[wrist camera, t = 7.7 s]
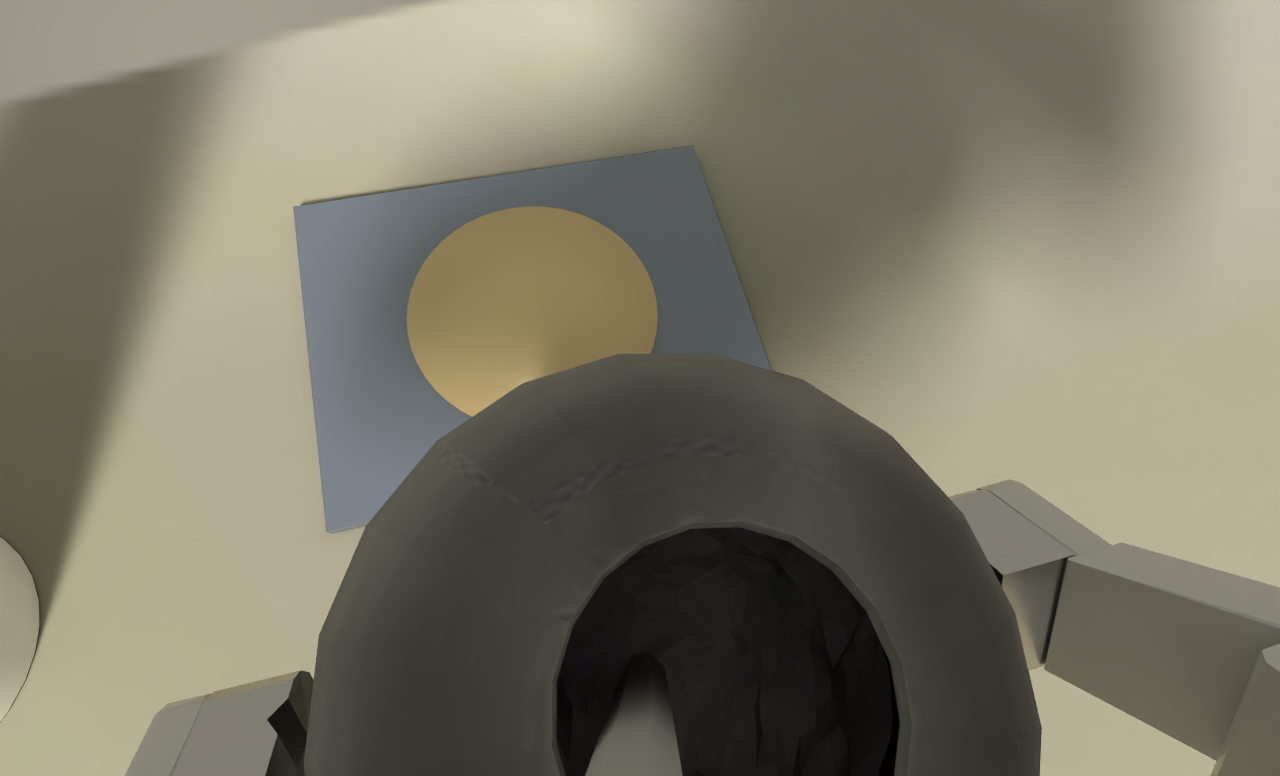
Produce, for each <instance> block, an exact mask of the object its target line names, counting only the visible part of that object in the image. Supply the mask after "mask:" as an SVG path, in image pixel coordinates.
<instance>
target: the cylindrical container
mask: <svg viewBox="0 0 1280 776" xmlns="http://www.w3.org/2000/svg"><path fill="white" fill-rule="evenodd" d="M38 631H39V600H38V596H37V592H36V588H35V585H34V581H33V577H32V575H31V573H30V572H29V570H28V568H27V566H26V565H25V563H24V561H23V559H22V558H21V556H20V555H19V554H18V553H17V552H16V551H15V550H14V549H13V548H12V547H11V546H10V545H9V544H8V543H7V542H6V541H5V540H4V539H3V538H1V537H0V721H1V720H2V719H3V717H4V716H5V715H6V714H7V712H8V711H9V709H10V707H11V705H12V704H13V702H14V700H15V698H16V696H17V694H18V693H19V691H20V689H21V687H22V685H23V684H24V682H25V679H26V677H27V674H28V671H29V668H30V665H31V662H32V659H33V657H34V654H35V650H36V644H37V638H38Z"/></svg>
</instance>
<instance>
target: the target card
mask: <svg viewBox="0 0 1280 776" xmlns="http://www.w3.org/2000/svg"><path fill="white" fill-rule="evenodd" d="M293 209H294V219H295V229H296V239H297V249H298V258H299V268H300V278H301V288H302V298H303V307H304V317H305V327H306V337H307V347H308V357H309V366H310V376H311V386H312V396H313V406H314V415H315V425H316V435H317V445H318V455H319V465H320V474H321V484H322V494H323V504H324V514H325V523H326V532H329V533H331V534H332V533H336V532H340V531H345V530H349V529H353V528H357V527H362V526H366V525H367V524H368V523H369V522H370V520H371V519H372V518H373V517H374V515H375V514H376V513H377V512H378V511H379V509H380V508H381V507H382V506H383V505H384V503H385V502H386V501H387V500H388V499H389V497H390V496H391V495H392V494H393V493H394V491H395V490H396V489H397V488H398V487H399V485H400V484H401V483H402V482H403V480H404V479H405V478H406V477H407V476H408V474H409V473H410V472H411V471H412V470H413V468H414V467H415V466H416V465H417V464H418V462H419V461H420V460H421V459H422V458H423V456H424V455H425V454H426V453H427V452H428V450H429V449H430V448H431V447H432V445H433V444H434V443H435V442H436V441H437V440H438V439H440V438H441V437H443V436H444V435H446V434H447V433H449V432H450V431H452V430H453V429H455V428H456V427H458V426H459V425H461V424H462V423H464V422H465V421H467V420H468V419H470V418H471V417H473V416H474V415H476V414H477V413H479V412H480V411H482V410H483V409H485V408H486V407H488V406H489V405H491V404H492V403H494V402H495V401H497V400H498V399H500V398H501V397H503V396H504V395H506V394H507V393H509V392H510V391H512V390H513V389H515V388H516V387H517V386H519V385H521V384H523V383H525V382H528V381H531V380H534V379H538V378H541V377H544V376H547V375H551V374H554V373H557V372H561V371H564V370H567V369H570V368H574V367H577V366H580V365H583V364H587V363H590V362H593V361H596V360H600V359H603V358H606V357H609V356H613V355H616V354H703V353H712V354H716V355H719V356H723V357H726V358H730V359H733V360H736V361H740V362H743V363H747V364H750V365H754V366H757V367H761V368H764V369H767V370H771V367H770V365H769V362H768V359H767V356H766V353H765V350H764V348H763V345H762V342H761V339H760V336H759V333H758V330H757V328H756V325H755V322H754V319H753V316H752V313H751V310H750V308H749V305H748V302H747V299H746V296H745V293H744V290H743V288H742V285H741V282H740V279H739V276H738V273H737V271H736V268H735V265H734V262H733V259H732V256H731V253H730V251H729V248H728V245H727V242H726V239H725V236H724V233H723V231H722V228H721V225H720V222H719V219H718V216H717V213H716V211H715V208H714V205H713V202H712V199H711V196H710V194H709V191H708V188H707V185H706V182H705V179H704V176H703V174H702V171H701V168H700V165H699V162H698V159H697V156H696V154H695V151H694V148H693V145H692V146H686V147H679V148H673V149H666V150H660V151H653V152H647V153H640V154H634V155H627V156H621V157H614V158H608V159H601V160H595V161H588V162H582V163H575V164H569V165H562V166H556V167H549V168H542V169H536V170H529V171H523V172H516V173H510V174H503V175H497V176H490V177H484V178H477V179H471V180H464V181H458V182H451V183H445V184H438V185H432V186H425V187H419V188H412V189H406V190H399V191H393V192H386V193H380V194H373V195H367V196H360V197H354V198H347V199H341V200H334V201H328V202H321V203H315V204H308V205H302V206H295V207H293ZM771 371H772V370H771Z"/></svg>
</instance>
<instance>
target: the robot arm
mask: <svg viewBox="0 0 1280 776" xmlns="http://www.w3.org/2000/svg"><path fill="white" fill-rule="evenodd" d="M948 498H949V499H950V500H951V501H952V502H953V503H954V504H955V505H956V506H957V507H958V509H959V510H960V511H961V512H962V513H963V514H964V516H965V518H966V520H967V522H968V524H969V525H970V527H971V529H972V531H973V533H974V535H975V537H976V539H977V541H978V543H979V544H980V546H981V548H982V550H983V552H984V554H985V556H986V558H987V560H988V562H989V564H990V565H991V567H992V569H993V571H994V573H995V575H996V577H997V579H998V581H999V583H1000V584H1001V586H1002V588H1003V590H1004V592H1005V594H1006V596H1007V598H1008V600H1009V602H1010V603H1011V605H1012V607H1013V609H1014V611H1015V614H1016V619H1017V623H1018V627H1019V632H1020V636H1021V640H1022V645H1023V649H1024V654H1025V658H1026V662H1027V667H1028V670H1031V669H1035V668H1038V667H1042V666H1045V667H1044V669H1045V670H1046V671H1048V672H1050V673H1052V674H1054V675H1056V676H1058V677H1060V678H1062V679H1063V680H1065V681H1067V682H1069V683H1071V684H1073V685H1075V686H1077V687H1078V688H1080V689H1082V690H1084V691H1086V692H1088V693H1090V694H1092V695H1094V696H1095V697H1097V698H1099V699H1101V700H1103V701H1105V702H1107V703H1109V704H1111V705H1112V706H1114V707H1116V708H1118V709H1120V710H1122V711H1124V712H1126V713H1127V714H1129V715H1131V716H1133V717H1135V718H1137V719H1139V720H1141V721H1143V722H1144V723H1146V724H1148V725H1150V726H1152V727H1154V728H1156V729H1158V730H1159V731H1161V732H1163V733H1165V734H1167V735H1169V736H1171V737H1173V738H1175V739H1176V740H1178V741H1180V742H1182V743H1184V744H1186V745H1188V746H1190V747H1192V748H1193V749H1195V750H1197V751H1199V752H1201V753H1203V754H1205V755H1207V756H1208V757H1210V758H1212V759H1214V760H1216V764H1215V766H1214V769H1213V771H1212V774H1211V776H1280V588H1279V587H1276V586H1272V585H1269V584H1265V583H1262V582H1258V581H1255V580H1251V579H1248V578H1244V577H1241V576H1237V575H1234V574H1230V573H1227V572H1223V571H1220V570H1216V569H1212V568H1209V567H1205V566H1202V565H1198V564H1195V563H1191V562H1188V561H1184V560H1181V559H1177V558H1174V557H1170V556H1167V555H1163V554H1160V553H1156V552H1153V551H1149V550H1146V549H1142V548H1139V547H1135V546H1132V545H1128V544H1125V543H1119V544H1116V545H1111V544H1109V543H1108V542H1106V541H1105V540H1103V539H1102V538H1100V537H1099V536H1098V535H1096V534H1095V533H1093V532H1092V531H1090V530H1089V529H1087V528H1086V527H1085V526H1083V525H1082V524H1080V523H1079V522H1077V521H1076V520H1074V519H1073V518H1072V517H1070V516H1069V515H1067V514H1066V513H1064V512H1063V511H1061V510H1060V509H1059V508H1057V507H1056V506H1054V505H1053V504H1051V503H1050V502H1048V501H1047V500H1045V499H1044V498H1043V497H1041V496H1040V495H1038V494H1037V493H1035V492H1034V491H1032V490H1031V489H1030V488H1028V487H1027V486H1025V485H1024V484H1022V483H1020V482H1017V481H1013V480H1006V481H1002V482H999V483H995V484H992V485H988V486H985V487H981V488H978V489H977V490H973V491H969V492H965V493H962V494H958V495H954V496H951V497H948ZM313 682H314V680H313V678H312V676H311V675H310V673H309V672H305V671H297V672H293V673H289V674H285V675H281V676H276V677H272V678H268V679H264V680H260V681H256V682H252V683H248V684H244V685H239V686H235V687H231V688H227V689H223V690H219V691H215V692H213V693H212V694H207V695H203V696H198V697H194V698H190V699H186V700H182V701H177V702H173V703H169V704H167V705H166V706H165V707H164V708H162V709H161V710H160V711H159V712H158V713H157V714H156V715H155V716H154V718H153V720H152V722H151V724H150V726H149V728H148V730H147V732H146V734H145V736H144V738H143V740H142V742H141V744H140V746H139V748H138V750H137V752H136V754H135V756H134V758H133V760H132V762H131V764H130V766H129V768H128V770H127V772H126V774H125V776H305V771H304V758H305V749H306V741H307V733H308V724H309V716H310V708H311V699H312V691H313Z"/></svg>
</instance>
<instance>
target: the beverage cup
mask: <svg viewBox="0 0 1280 776" xmlns="http://www.w3.org/2000/svg"><path fill="white" fill-rule="evenodd" d="M1041 730H1042V728H1041V723H1040V719H1039V715H1038V710H1037V706H1036V701H1035V697H1034V693H1033V688H1032V684H1031V680H1030V675H1029V671H1028V667H1027V662H1026V658H1025V654H1024V649H1023V645H1022V640H1021V636H1020V632H1019V627H1018V623H1017V619H1016V614H1015V611H1014V609H1013V607H1012V605H1011V603H1010V602H1009V600H1008V598H1007V596H1006V594H1005V592H1004V590H1003V588H1002V586H1001V584H1000V583H999V581H998V579H997V577H996V575H995V573H994V571H993V569H992V567H991V565H990V564H989V562H988V560H987V558H986V556H985V554H984V552H983V550H982V548H981V546H980V544H979V543H978V541H977V539H976V537H975V535H974V533H973V531H972V529H971V527H970V525H969V524H968V522H967V520H966V518H965V516H964V514H963V513H962V512H961V511H960V510H959V509H958V507H957V506H956V505H955V504H954V503H953V502H952V501H951V500H950V499H949V498H948V497H947V495H946V494H945V493H944V492H943V491H942V490H941V489H940V488H939V487H938V486H937V485H936V484H935V482H934V481H933V480H932V479H931V478H930V477H929V476H928V475H927V474H926V473H925V472H924V470H923V469H922V468H921V467H920V466H919V465H918V464H917V463H916V462H915V461H914V460H913V458H912V457H911V456H910V455H909V454H908V453H907V452H906V451H905V450H904V449H903V448H902V447H901V445H900V444H899V443H898V442H897V441H896V440H895V439H894V438H893V437H892V436H891V435H889V434H888V433H887V432H885V431H884V430H882V429H881V428H879V427H878V426H876V425H874V424H873V423H871V422H870V421H868V420H866V419H865V418H863V417H862V416H860V415H858V414H857V413H855V412H854V411H852V410H850V409H849V408H847V407H846V406H844V405H842V404H841V403H839V402H838V401H836V400H834V399H833V398H831V397H830V396H828V395H827V394H825V393H823V392H822V391H820V390H819V389H817V388H815V387H814V386H812V385H811V384H809V383H807V382H806V381H804V380H802V379H798V378H795V377H792V376H788V375H785V374H781V373H778V372H774V371H771V370H767V369H764V368H761V367H757V366H754V365H750V364H747V363H743V362H740V361H736V360H733V359H730V358H726V357H723V356H719V355H716V354H712V353H703V354H616V355H613V356H609V357H606V358H603V359H600V360H596V361H593V362H590V363H587V364H583V365H580V366H577V367H574V368H570V369H567V370H564V371H561V372H557V373H554V374H551V375H547V376H544V377H541V378H538V379H534V380H531V381H528V382H525V383H523V384H521V385H519V386H517V387H516V388H515V389H513V390H512V391H510V392H509V393H507V394H506V395H504V396H503V397H501V398H500V399H498V400H497V401H495V402H494V403H492V404H491V405H489V406H488V407H486V408H485V409H483V410H482V411H480V412H479V413H477V414H476V415H474V416H473V417H471V418H470V419H468V420H467V421H465V422H464V423H462V424H461V425H459V426H458V427H456V428H455V429H453V430H452V431H450V432H449V433H447V434H446V435H444V436H443V437H441V438H440V439H438V440H437V441H436V442H435V443H434V444H433V445H432V447H431V448H430V449H429V450H428V452H427V453H426V454H425V455H424V456H423V458H422V459H421V460H420V461H419V462H418V464H417V465H416V466H415V467H414V468H413V470H412V471H411V472H410V473H409V474H408V476H407V477H406V478H405V479H404V480H403V482H402V483H401V484H400V485H399V487H398V488H397V489H396V490H395V491H394V493H393V494H392V495H391V496H390V497H389V499H388V500H387V501H386V502H385V503H384V505H383V506H382V507H381V508H380V509H379V511H378V512H377V513H376V514H375V515H374V517H373V518H372V519H371V520H370V522H369V523H368V524H367V525H366V527H365V530H364V532H363V534H362V537H361V539H360V541H359V544H358V546H357V548H356V551H355V553H354V555H353V558H352V560H351V562H350V565H349V567H348V569H347V571H346V574H345V576H344V578H343V581H342V583H341V585H340V588H339V590H338V592H337V595H336V597H335V599H334V602H333V604H332V606H331V609H330V611H329V613H328V616H327V618H326V620H325V623H324V625H323V627H322V630H321V632H320V634H319V640H318V649H317V657H316V666H315V674H314V682H313V691H312V699H311V708H310V716H309V724H308V733H307V741H306V749H305V758H304V771H305V776H1040V753H1041Z"/></svg>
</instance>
